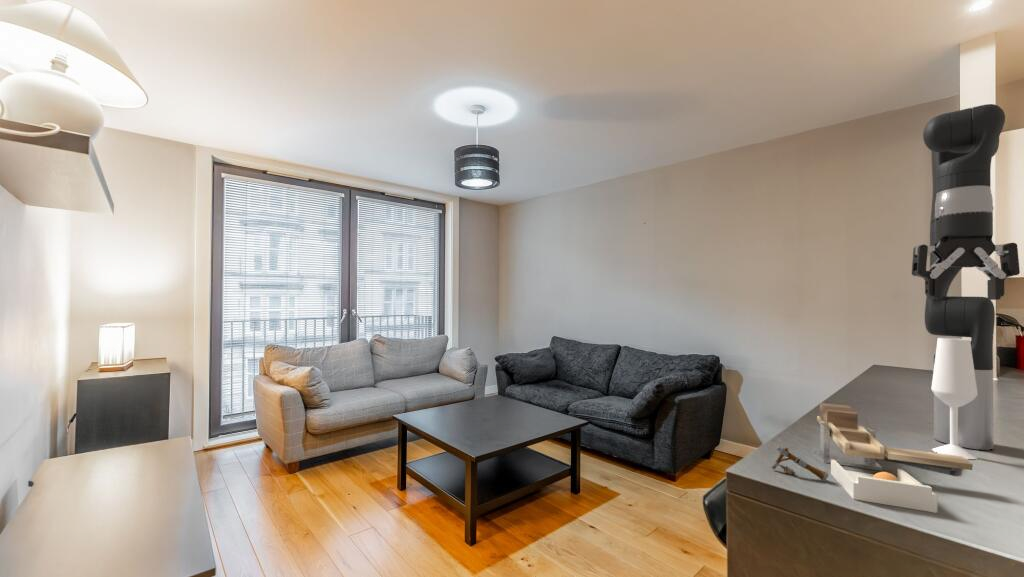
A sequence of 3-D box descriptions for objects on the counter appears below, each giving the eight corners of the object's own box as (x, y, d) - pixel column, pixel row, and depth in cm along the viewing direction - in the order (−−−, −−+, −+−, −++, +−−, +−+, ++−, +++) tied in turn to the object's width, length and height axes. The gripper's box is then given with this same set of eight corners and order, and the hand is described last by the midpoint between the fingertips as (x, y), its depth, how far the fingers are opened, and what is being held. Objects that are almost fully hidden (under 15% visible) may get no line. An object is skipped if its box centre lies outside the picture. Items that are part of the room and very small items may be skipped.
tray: (830, 473, 76) (830, 453, 76) (901, 484, 72) (901, 463, 72) (853, 499, 66) (853, 476, 66) (937, 513, 62) (937, 488, 62)
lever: (817, 420, 91) (817, 402, 91) (920, 431, 84) (921, 412, 84) (844, 454, 75) (845, 432, 75) (974, 471, 69) (975, 447, 69)
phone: (859, 440, 93) (958, 461, 81) (859, 446, 92) (958, 467, 81) (850, 448, 87) (954, 472, 76) (850, 453, 87) (954, 478, 76)
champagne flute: (929, 445, 93) (929, 336, 94) (974, 453, 88) (973, 339, 89) (933, 453, 88) (933, 338, 88) (981, 462, 83) (980, 341, 84)
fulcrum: (814, 452, 86) (815, 420, 87) (869, 459, 83) (869, 426, 83) (823, 462, 81) (824, 427, 81) (882, 470, 77) (882, 434, 78)
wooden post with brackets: (767, 462, 78) (779, 442, 77) (815, 491, 74) (828, 470, 73) (766, 465, 76) (778, 445, 75) (816, 495, 72) (829, 473, 71)
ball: (868, 466, 68) (877, 476, 65) (896, 470, 67) (906, 480, 64) (867, 487, 68) (877, 498, 65) (895, 491, 67) (905, 502, 64)
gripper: (1000, 216, 81) (1000, 300, 80) (905, 219, 86) (905, 298, 86) (1029, 207, 74) (1030, 300, 73) (924, 212, 79) (924, 298, 79)
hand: (963, 299), depth 79 cm, fingers open, 8 cm apart
